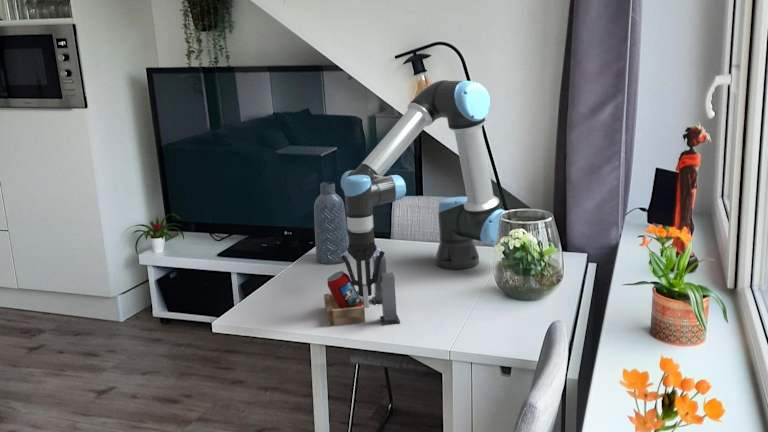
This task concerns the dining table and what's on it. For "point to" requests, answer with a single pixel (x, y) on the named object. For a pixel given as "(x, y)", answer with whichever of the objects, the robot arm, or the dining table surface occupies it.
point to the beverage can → (343, 290)
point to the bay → (342, 313)
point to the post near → (388, 299)
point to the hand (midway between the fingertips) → (366, 306)
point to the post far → (379, 281)
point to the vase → (330, 225)
